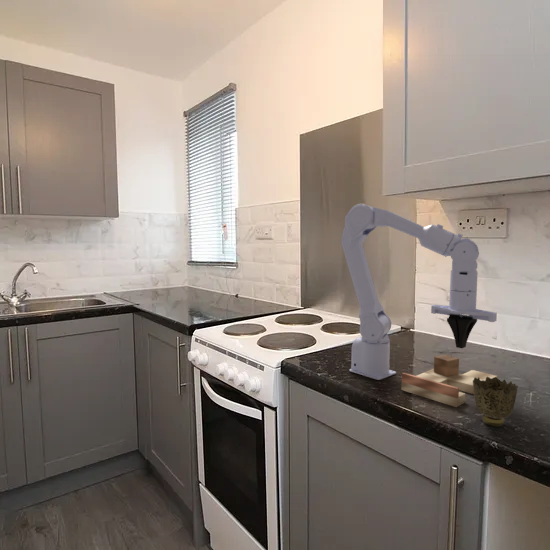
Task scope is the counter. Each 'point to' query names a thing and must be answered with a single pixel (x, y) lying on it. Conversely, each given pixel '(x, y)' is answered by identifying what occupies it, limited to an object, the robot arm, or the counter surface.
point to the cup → (494, 399)
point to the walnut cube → (446, 365)
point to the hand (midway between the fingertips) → (460, 347)
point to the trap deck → (442, 385)
